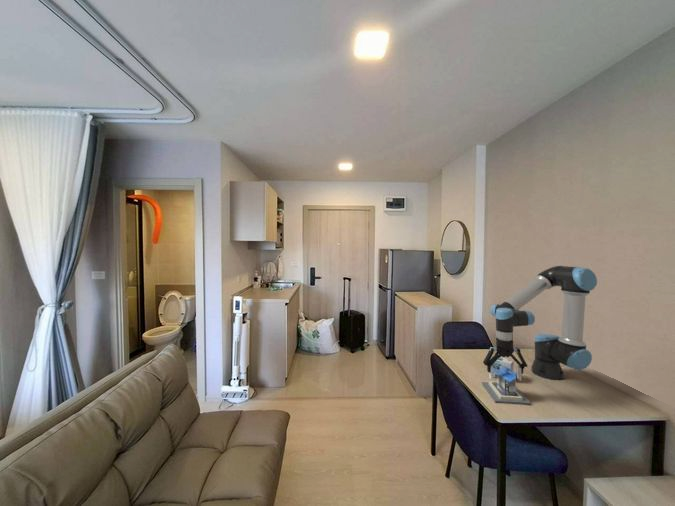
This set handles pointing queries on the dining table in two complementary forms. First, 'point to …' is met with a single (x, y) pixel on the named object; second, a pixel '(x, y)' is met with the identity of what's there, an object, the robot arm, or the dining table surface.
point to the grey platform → (501, 397)
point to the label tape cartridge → (507, 382)
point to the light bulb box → (502, 366)
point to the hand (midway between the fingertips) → (505, 378)
